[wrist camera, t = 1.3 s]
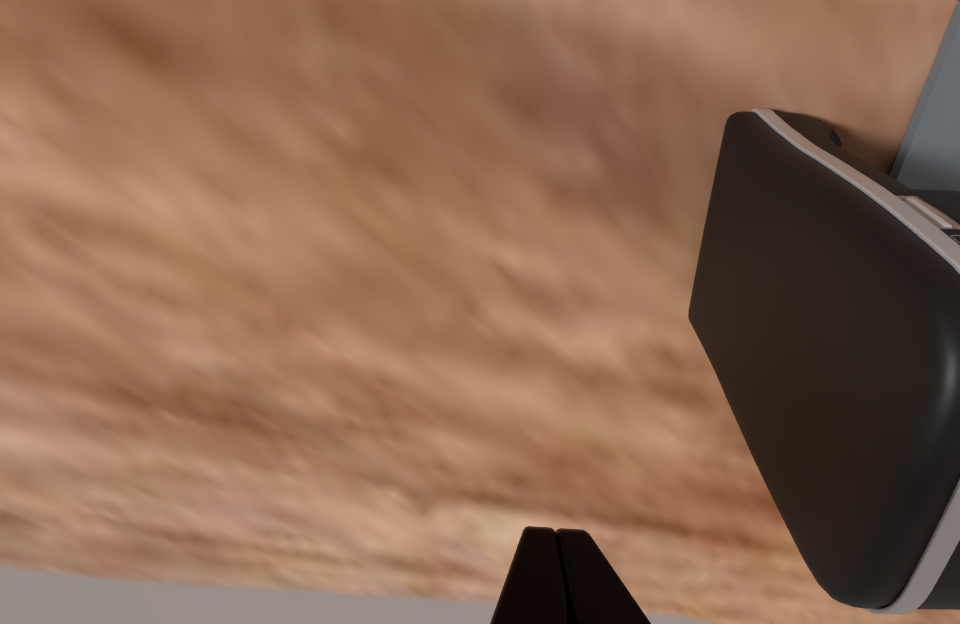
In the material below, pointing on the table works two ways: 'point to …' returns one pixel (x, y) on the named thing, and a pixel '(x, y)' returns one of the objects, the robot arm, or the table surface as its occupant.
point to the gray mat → (935, 123)
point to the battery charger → (840, 354)
